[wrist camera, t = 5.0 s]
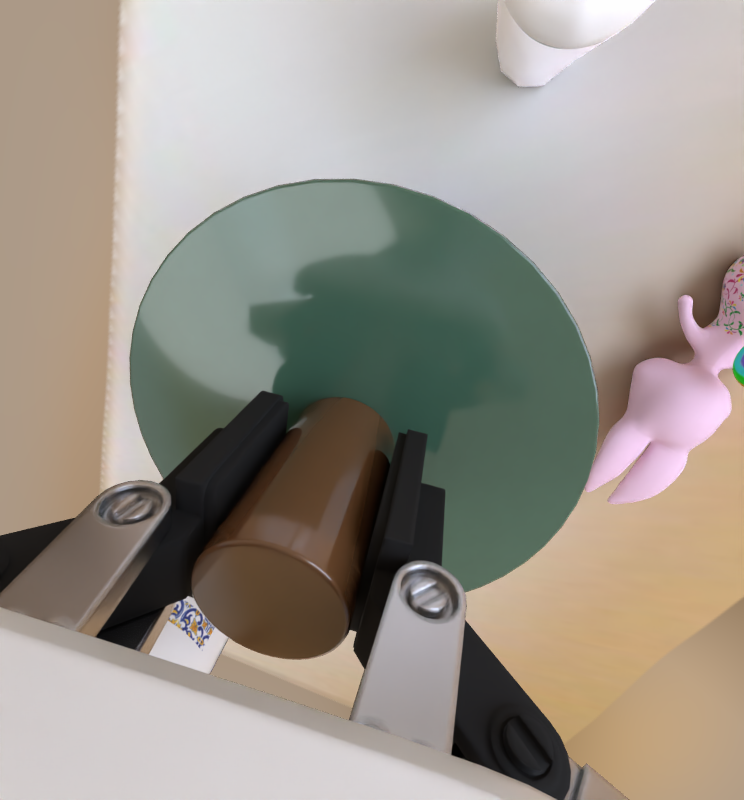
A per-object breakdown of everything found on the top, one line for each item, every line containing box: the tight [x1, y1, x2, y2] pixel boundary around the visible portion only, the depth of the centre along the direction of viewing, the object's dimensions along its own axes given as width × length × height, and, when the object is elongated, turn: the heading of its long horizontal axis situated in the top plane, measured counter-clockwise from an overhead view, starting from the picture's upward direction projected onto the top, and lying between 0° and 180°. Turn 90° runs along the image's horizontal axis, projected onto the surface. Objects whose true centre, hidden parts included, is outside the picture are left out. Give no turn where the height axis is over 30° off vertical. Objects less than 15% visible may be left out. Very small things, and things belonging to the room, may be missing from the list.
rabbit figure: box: [584, 255, 744, 504], centre depth 19 cm, size 6×6×15 cm
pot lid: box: [130, 179, 599, 660], centre depth 10 cm, size 14×14×7 cm
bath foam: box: [149, 596, 229, 674], centre depth 23 cm, size 7×7×20 cm
